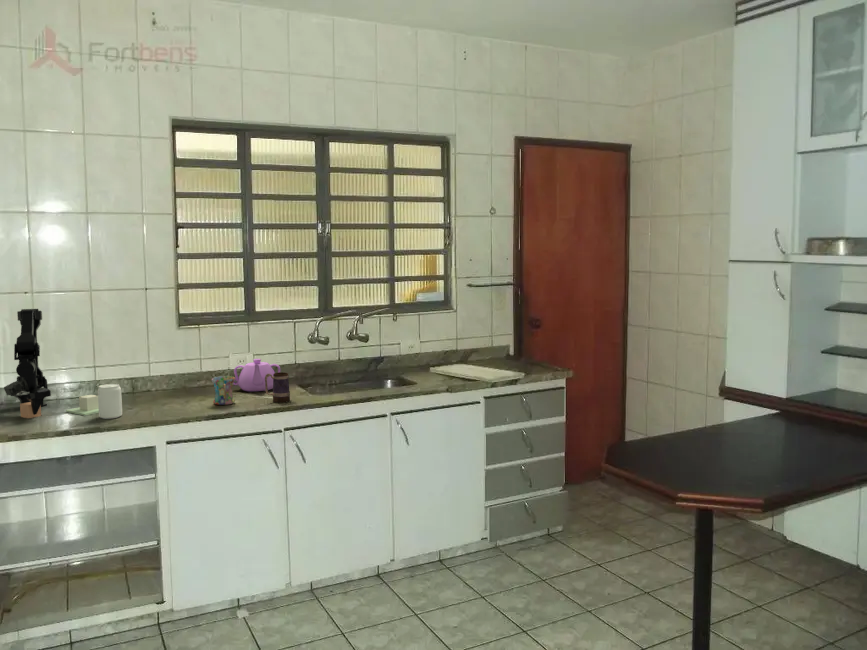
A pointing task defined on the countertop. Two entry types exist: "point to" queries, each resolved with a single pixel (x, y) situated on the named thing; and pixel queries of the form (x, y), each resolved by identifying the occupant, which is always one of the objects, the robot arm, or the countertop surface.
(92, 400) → the cream brick
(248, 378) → the teapot
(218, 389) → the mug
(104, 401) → the beverage can
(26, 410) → the terracotta brick
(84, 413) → the plate
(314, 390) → the countertop surface
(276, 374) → the mug
